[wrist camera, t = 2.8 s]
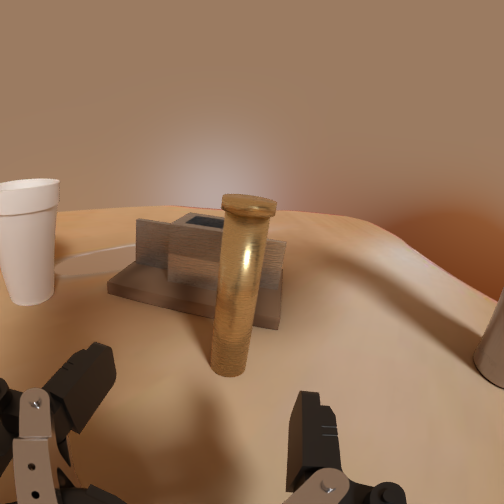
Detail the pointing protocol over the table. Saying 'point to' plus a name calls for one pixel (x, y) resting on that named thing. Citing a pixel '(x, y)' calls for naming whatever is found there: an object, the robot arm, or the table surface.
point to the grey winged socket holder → (197, 250)
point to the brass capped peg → (239, 279)
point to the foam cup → (28, 238)
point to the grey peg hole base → (187, 294)
